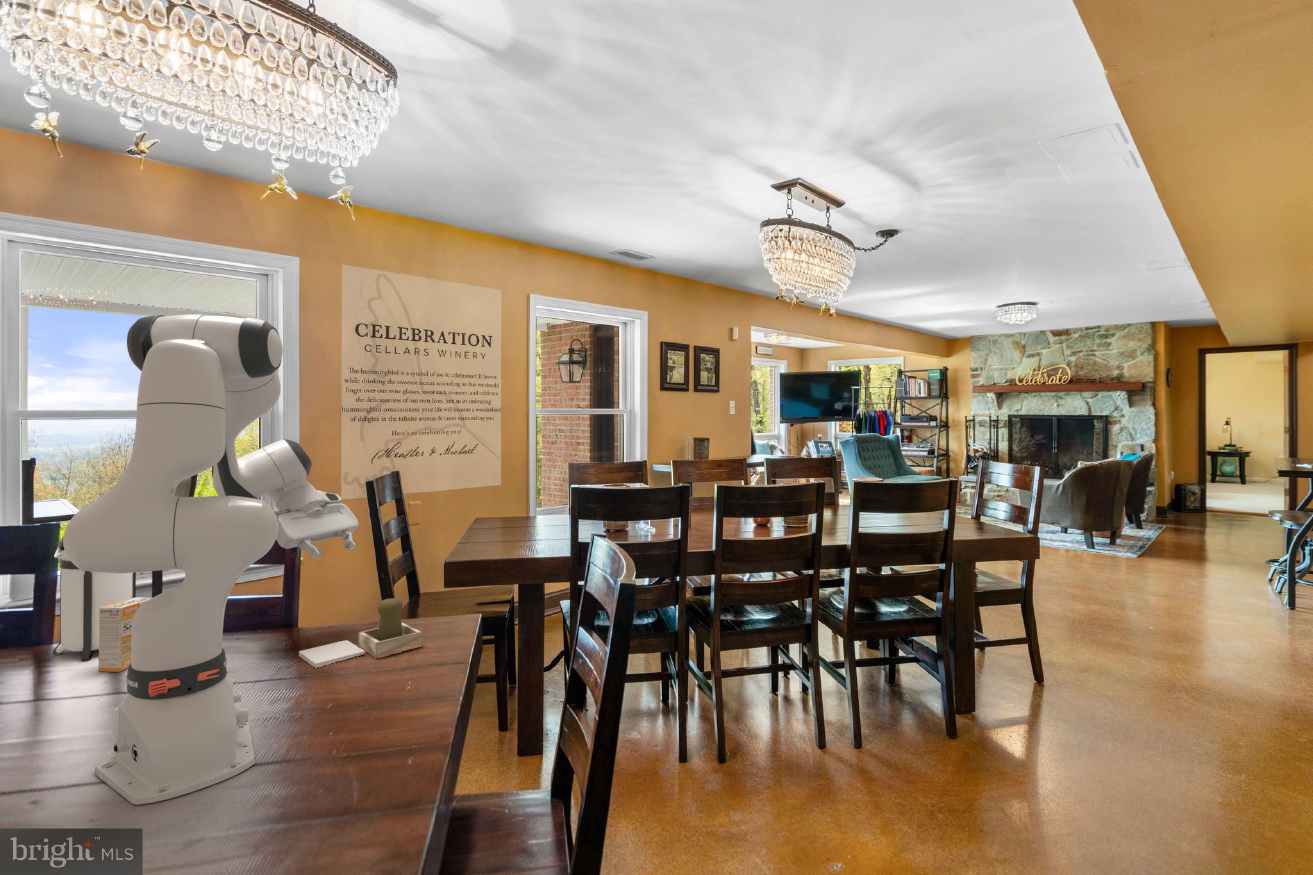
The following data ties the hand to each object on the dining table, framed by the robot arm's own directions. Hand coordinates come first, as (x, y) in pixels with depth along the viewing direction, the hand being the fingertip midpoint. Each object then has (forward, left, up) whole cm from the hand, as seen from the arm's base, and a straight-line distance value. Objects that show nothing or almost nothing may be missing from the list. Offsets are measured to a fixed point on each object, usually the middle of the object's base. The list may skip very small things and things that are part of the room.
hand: (336, 552), depth 139 cm
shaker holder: (-11, -8, -21) cm, 25 cm away
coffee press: (+34, +36, -21) cm, 54 cm away
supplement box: (+18, +34, -21) cm, 44 cm away
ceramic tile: (-7, +3, -21) cm, 23 cm away
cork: (-11, -8, -21) cm, 25 cm away
